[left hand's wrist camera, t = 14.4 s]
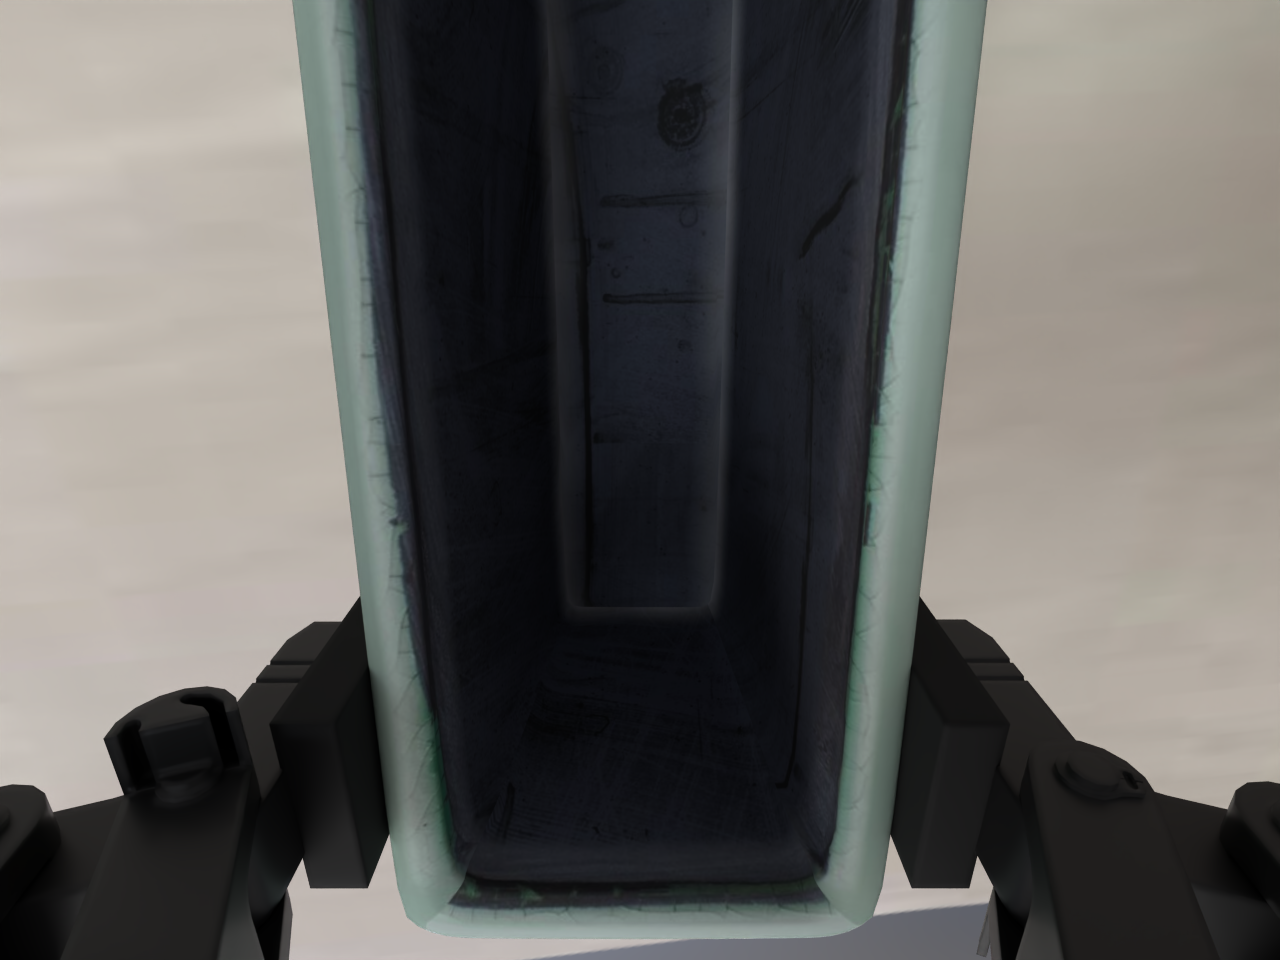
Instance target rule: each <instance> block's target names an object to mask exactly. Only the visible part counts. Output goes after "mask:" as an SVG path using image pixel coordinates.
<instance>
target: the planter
mask: <svg viewBox="0 0 1280 960" xmlns="http://www.w3.org/2000/svg"><path fill="white" fill-rule="evenodd" d="M292 2H293V10H294V19H295V28H296V37H297V46H298V54H299V63H300V72H301V81H302V90H303V99H304V107H305V116H306V125H307V134H308V143H309V151H310V160H311V169H312V178H313V187H314V195H315V204H316V213H317V222H318V231H319V240H320V248H321V257H322V266H323V275H324V284H325V292H326V301H327V310H328V319H329V328H330V336H331V345H332V354H333V362H334V371H335V380H336V388H337V397H338V406H339V414H340V423H341V432H342V440H343V449H344V458H345V466H346V475H347V484H348V492H349V501H350V510H351V518H352V527H353V536H354V544H355V553H356V562H357V570H358V579H359V588H360V596H361V605H362V614H363V622H364V631H365V640H366V648H367V657H368V665H369V673H370V682H371V690H372V698H373V707H374V715H375V723H376V731H377V740H378V748H379V756H380V764H381V773H382V781H383V789H384V798H385V806H386V814H387V821H388V827H389V834H390V840H391V847H392V853H393V860H394V866H395V873H396V879H397V886H398V890H399V893H400V896H401V900H402V903H403V906H404V909H405V912H406V916H407V918H409V919H410V920H411V921H412V922H413V923H415V924H416V925H417V926H419V927H421V928H423V929H425V930H428V931H430V932H432V933H436V934H441V935H445V936H452V937H461V938H510V939H747V938H813V937H825V936H833V935H837V934H841V933H845V932H848V931H851V930H853V929H855V928H857V927H859V926H861V925H862V924H864V923H865V922H866V921H868V920H869V919H870V918H871V917H872V916H873V913H874V910H875V907H876V904H877V901H878V898H879V895H880V892H881V889H882V885H883V879H884V872H885V866H886V860H887V853H888V847H889V840H890V834H891V827H892V821H893V815H894V806H895V798H896V790H897V781H898V773H899V765H900V756H901V748H902V740H903V731H904V723H905V715H906V706H907V698H908V689H909V680H910V672H911V665H912V657H913V648H914V639H915V630H916V622H917V613H918V604H919V596H920V587H921V578H922V570H923V561H924V552H925V543H926V535H927V526H928V517H929V509H930V500H931V491H932V482H933V474H934V465H935V456H936V448H937V439H938V430H939V422H940V413H941V404H942V395H943V387H944V378H945V369H946V361H947V352H948V343H949V334H950V326H951V317H952V308H953V299H954V290H955V281H956V272H957V264H958V255H959V246H960V237H961V228H962V219H963V210H964V202H965V193H966V184H967V175H968V166H969V157H970V148H971V140H972V131H973V122H974V113H975V104H976V95H977V86H978V78H979V69H980V60H981V51H982V42H983V33H984V24H985V16H986V7H987V0H292Z"/></svg>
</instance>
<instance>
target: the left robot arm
mask: <svg viewBox="0 0 1280 960" xmlns="http://www.w3.org/2000/svg"><path fill="white" fill-rule="evenodd" d="M270 662H271V663H270V665H267V666H266V667H265V668H264V670H263V671H262V672H261V673H260V675H259V676H258V677H257V678H256V683H252V684H251V686H250V687H249V688H248V689H247V691H246V692H245V693H244V694H243V696H242V697H241V698H240V699H239V701H238V702H237V700H236V697H235V696H233V695H232V694H231V693H229V692H228V691H227V690H225V689H220V688H214V687H208V686H206V687H196V688H186V689H182V690H178V691H175V692H172V693H168V694H165V695H162V696H159V697H157V698H155V699H153V700H151V701H149V702H146V703H144V704H142V705H140V706H138V707H136V708H135V709H133V710H132V711H131V712H129V713H128V714H127V715H125V716H124V717H123V718H121V719H120V720H119V721H117V722H116V723H115V724H114V726H113V727H112V728H111V730H110V731H109V732H108V733H107V735H106V736H105V737H104V742H105V744H106V747H107V750H108V753H109V755H110V758H111V761H112V763H113V766H114V769H115V772H116V774H117V777H118V780H119V782H120V785H121V788H122V791H123V793H124V795H123V796H120V797H116V798H113V799H108V800H104V801H100V802H95V803H91V804H87V805H83V806H78V807H74V808H70V809H65V810H61V811H57V812H53V811H52V809H51V807H50V804H49V802H48V800H47V797H46V795H45V793H44V792H42V791H41V790H39V789H38V788H36V787H34V786H32V785H14V784H12V785H7V786H2V787H0V960H289V950H290V938H291V927H292V915H293V914H292V908H291V902H290V897H289V894H288V890H287V887H288V885H289V883H290V881H291V879H292V878H293V876H294V874H295V872H296V870H297V868H298V866H299V864H300V862H301V860H302V858H303V861H304V865H305V869H306V873H307V877H308V881H309V885H310V888H368V886H369V884H370V881H371V879H372V876H373V874H374V871H375V869H376V866H377V864H378V861H379V859H380V856H381V853H382V851H383V848H384V846H385V843H386V841H387V838H388V836H389V827H388V821H387V814H386V806H385V798H384V789H383V781H382V773H381V764H380V756H379V748H378V740H377V731H376V723H375V715H374V707H373V698H372V690H371V682H370V673H369V665H368V657H367V648H366V640H365V631H364V622H363V614H362V605H361V596H360V597H359V598H358V600H357V601H356V602H355V604H354V605H353V607H352V608H351V609H350V611H349V612H348V614H347V615H346V616H345V618H344V619H343V621H342V622H313V623H312V624H310V625H309V626H307V627H306V628H304V629H303V630H301V631H300V632H298V633H297V634H295V635H294V636H292V637H291V638H289V639H288V640H287V641H286V642H285V643H284V645H283V646H282V647H281V648H280V650H279V651H278V652H277V653H276V655H275V656H274V657H273V658H272V660H271V661H270ZM891 837H892V839H893V842H894V844H895V847H896V850H897V852H898V855H899V857H900V860H901V862H902V865H903V867H904V870H905V872H906V875H907V877H908V880H909V882H910V885H911V887H912V888H969V887H970V883H971V879H972V875H973V871H974V867H975V863H976V859H977V856H978V857H979V859H980V861H981V863H982V865H983V867H984V869H985V871H986V873H987V875H988V877H989V879H990V881H991V883H992V885H993V890H992V894H991V897H990V901H989V905H988V908H987V912H986V916H985V920H984V923H983V927H982V931H981V934H980V938H979V943H978V949H977V955H980V956H983V957H986V956H987V952H988V948H989V945H990V948H991V959H992V960H1280V784H1278V783H1274V782H1269V781H1266V782H1249V783H1246V784H1245V785H1243V786H1242V787H1240V788H1238V789H1237V790H1236V791H1235V793H1234V796H1233V798H1232V800H1231V803H1230V805H1229V807H1228V810H1227V809H1223V808H1219V807H1214V806H1210V805H1206V804H1201V803H1197V802H1193V801H1188V800H1184V799H1180V798H1175V797H1171V796H1167V795H1163V794H1160V793H1157V792H1154V790H1153V789H1152V787H1151V786H1150V784H1149V783H1148V781H1147V780H1146V778H1145V777H1144V776H1143V775H1142V774H1141V773H1139V772H1138V771H1137V770H1136V769H1135V768H1134V767H1132V766H1131V765H1130V764H1129V763H1128V762H1127V761H1125V760H1123V759H1121V758H1119V757H1117V756H1116V755H1114V754H1112V753H1110V752H1108V751H1107V750H1105V749H1103V748H1100V747H1097V746H1094V745H1091V744H1088V743H1085V742H1082V741H1076V740H1075V739H1074V737H1073V736H1072V735H1071V734H1070V732H1069V731H1068V730H1067V729H1066V728H1065V726H1064V725H1063V724H1062V723H1061V721H1060V720H1059V719H1058V718H1057V716H1056V715H1055V714H1054V713H1053V712H1052V710H1051V709H1050V708H1049V707H1048V705H1047V704H1046V703H1045V702H1044V700H1043V699H1042V698H1041V697H1040V696H1039V694H1038V693H1037V692H1036V691H1035V689H1034V688H1033V687H1032V686H1031V684H1030V683H1029V682H1028V681H1024V676H1023V675H1022V673H1021V672H1020V671H1019V670H1018V668H1017V667H1016V666H1015V665H1014V663H1010V659H1009V657H1008V656H1007V655H1006V654H1005V652H1004V651H1003V650H1002V649H1001V647H1000V646H999V645H998V644H997V642H996V641H995V640H994V639H993V638H992V637H991V636H989V635H988V634H986V633H985V632H983V631H982V630H980V629H979V628H977V627H976V626H974V625H973V624H971V623H970V622H968V621H967V620H936V619H935V617H934V616H933V614H932V613H931V612H930V610H929V609H928V607H927V606H926V604H925V603H924V602H923V600H922V599H921V597H920V596H919V604H918V613H917V622H916V630H915V639H914V648H913V657H912V665H911V672H910V680H909V689H908V698H907V706H906V715H905V723H904V731H903V740H902V748H901V756H900V765H899V773H898V781H897V790H896V798H895V806H894V815H893V821H892V827H891Z"/></svg>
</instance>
